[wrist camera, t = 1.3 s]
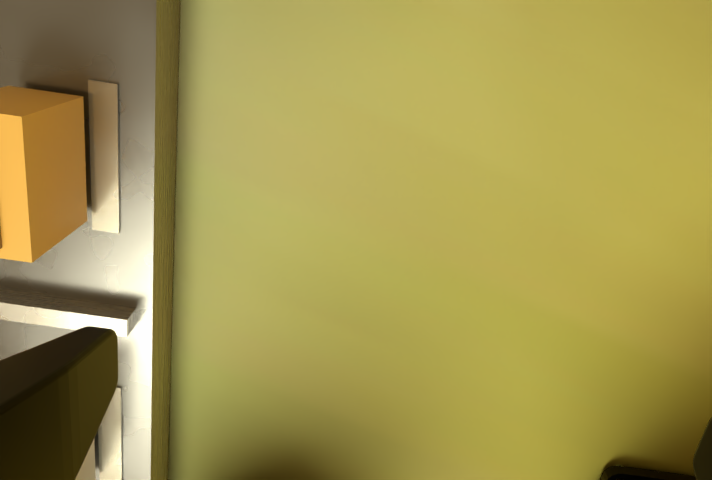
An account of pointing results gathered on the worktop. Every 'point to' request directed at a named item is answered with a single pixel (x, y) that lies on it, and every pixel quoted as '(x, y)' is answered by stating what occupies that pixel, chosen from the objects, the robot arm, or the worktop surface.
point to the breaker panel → (106, 207)
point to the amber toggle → (40, 170)
